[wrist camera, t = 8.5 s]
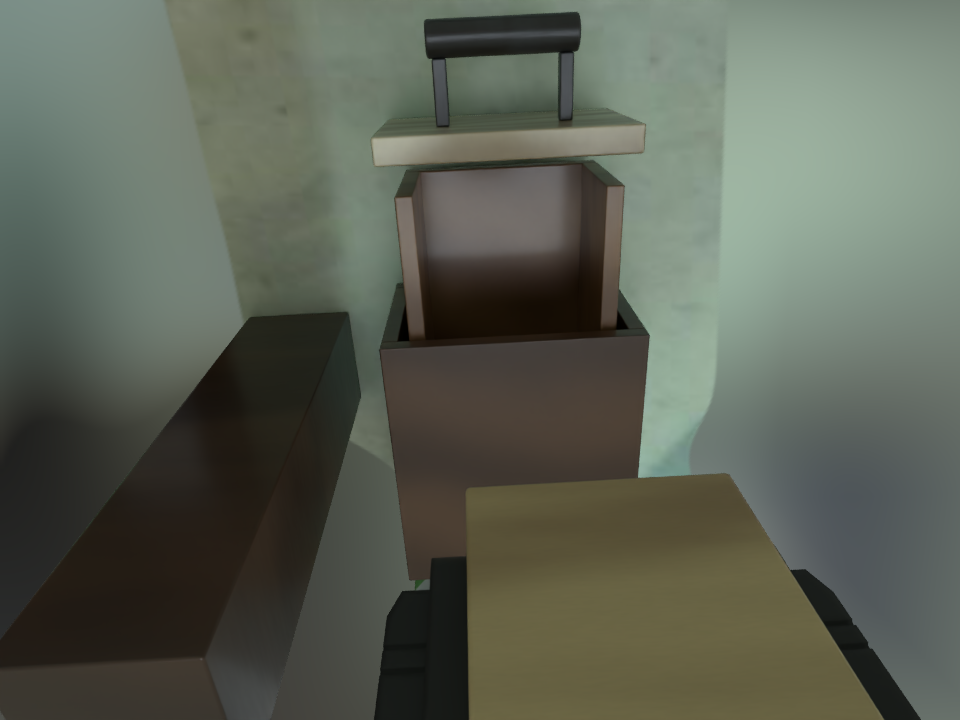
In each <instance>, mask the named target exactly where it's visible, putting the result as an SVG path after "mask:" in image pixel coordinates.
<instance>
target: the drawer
mask: <svg viewBox="0 0 960 720" xmlns="http://www.w3.org/2000/svg"><path fill="white" fill-rule="evenodd" d="M424 34H425V47H426V55H427V58H428V59H432V72H433V86H434V100H435V114H436V117H426V118H406V119H389V120H388V121H387V122H386V123H385V124H384V125H383V126H382V127H381V128H380V129H379V130H378V131H377V132H376V133H375V134H374V135H373V136H372V137H371V147H372V156H373V165H374V166H375V167H387V166H407V165H426V164H445V163H465V162H484V161H504V160H523V159H542V158H562V157H581V156H600V155H620V154H639V153H643V152H644V146H645V132H646V124H645V123H642V122H640V121H637V120H635V119H632V118H630V117H627V116H625V115H623V114H620V113H618V112H615V111H613V110H610V109H608V108H602V109H583V110H573V77H574V52H576V51H578V49H579V45H580V39H581V20H580V15H579V13H578V12H563V13H543V14H523V15H503V16H483V17H463V18H443V19H426V20H425V21H424ZM558 52H560V53H559V54H558V111H543V112H524V113H504V114H485V115H465V116H449V102H448V86H447V70H446V59H445V58H459V57H478V56H498V55H518V54H538V53H558ZM624 188H625V186H624V185H623V184H622V183H621V182H620V181H618V180H617V179H616V178H615V177H614V176H612V175H611V174H610V173H609V172H608V171H606V170H605V169H604V168H603V167H602V166H600V165H599V164H598V163H597V162H595V161H594V160H587V161H568V162H548V163H529V164H510V165H490V166H471V167H452V168H432V169H413V170H406V172H405V174H404V177H403V179H402V181H401V184H400V186H399V188H398V191H397V193H396V195H395V198H394V200H395V210H396V219H397V229H398V238H399V248H400V257H401V267H402V276H403V286H404V295H405V305H406V314H407V323H408V333H409V341H422V340H440V339H459V338H478V337H496V336H515V335H534V334H552V333H571V332H590V331H608V330H616V326H617V309H618V292H619V274H620V257H621V240H622V223H623V205H624Z"/></svg>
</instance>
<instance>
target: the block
mask: <svg viewBox="0 0 960 720" xmlns="http://www.w3.org/2000/svg"><path fill="white" fill-rule="evenodd" d="M466 560H467V628H468V695H469V720H884V719H883V717H882V716H881V714H880V712H879V711H878V709H877V708H876V706H875V705H874V703H873V701H872V700H871V698H870V697H869V695H868V693H867V692H866V690H865V689H864V687H863V685H862V684H861V682H860V681H859V679H858V678H857V676H856V674H855V673H854V671H853V670H852V668H851V666H850V665H849V663H848V662H847V660H846V659H845V657H844V655H843V654H842V652H841V651H840V649H839V647H838V646H837V644H836V643H835V641H834V640H833V638H832V636H831V635H830V633H829V632H828V630H827V628H826V627H825V625H824V624H823V622H822V621H821V619H820V617H819V616H818V614H817V613H816V611H815V609H814V608H813V606H812V605H811V603H810V602H809V600H808V598H807V597H806V595H805V594H804V592H803V590H802V589H801V587H800V586H799V584H798V582H797V581H796V579H795V578H794V576H793V575H792V573H791V571H790V570H789V568H788V567H787V565H786V563H785V562H784V560H783V559H782V557H781V556H780V554H779V552H778V551H777V549H776V548H775V546H774V544H773V543H772V541H771V540H770V538H769V537H768V535H767V533H766V532H765V530H764V529H763V527H762V526H761V524H760V522H759V521H758V519H757V518H756V516H755V515H754V513H753V511H752V510H751V508H750V506H749V505H748V503H747V502H746V500H745V499H744V497H743V495H742V494H741V492H740V491H739V489H738V487H737V486H736V484H735V483H734V481H733V480H732V478H731V477H730V475H729V474H726V473H721V474H703V475H684V476H667V477H649V478H631V479H613V480H595V481H577V482H559V483H542V484H524V485H506V486H488V487H470V488H467V490H466Z"/></svg>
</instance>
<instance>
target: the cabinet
mask: <svg viewBox="0 0 960 720" xmlns="http://www.w3.org/2000/svg"><path fill="white" fill-rule="evenodd" d="M649 338H650V335H649V333H648V332H647V330H646V329H645V328H644V326H643V324H642V323H641V321H640V320H639V318H638V317H637V315H636V314H635V312H634V311H633V309H632V308H631V306H630V305H629V303H628V302H627V300H626V299H625V297H624V296H623V294H622V293H621V291H620V290H619V292H618V309H617V326H616V330H608V331H590V332H571V333H552V334H534V335H515V336H496V337H478V338H459V339H440V340H422V341H409V333H408V323H407V314H406V305H405V295H404V286H403V283H400V284H397V285H396V289H395V293H394V297H393V301H392V304H391V308H390V312H389V316H388V320H387V324H386V327H385V331H384V335H383V339H382V343H381V346H380V350H379V351H380V359H381V366H382V374H383V382H384V389H385V397H386V405H387V412H388V420H389V428H390V435H391V443H392V451H393V459H394V466H395V474H396V481H397V488H398V497H399V505H400V512H401V520H402V528H403V535H404V543H405V551H406V559H407V566H408V574H409V580H427V579H430V571H431V559H432V558H441V557H458V556H466V490H467V488H470V487H488V486H506V485H524V484H542V483H559V482H577V481H595V480H613V479H631V478H638V468H639V456H640V444H641V433H642V421H643V409H644V397H645V385H646V373H647V361H648V350H649Z"/></svg>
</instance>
